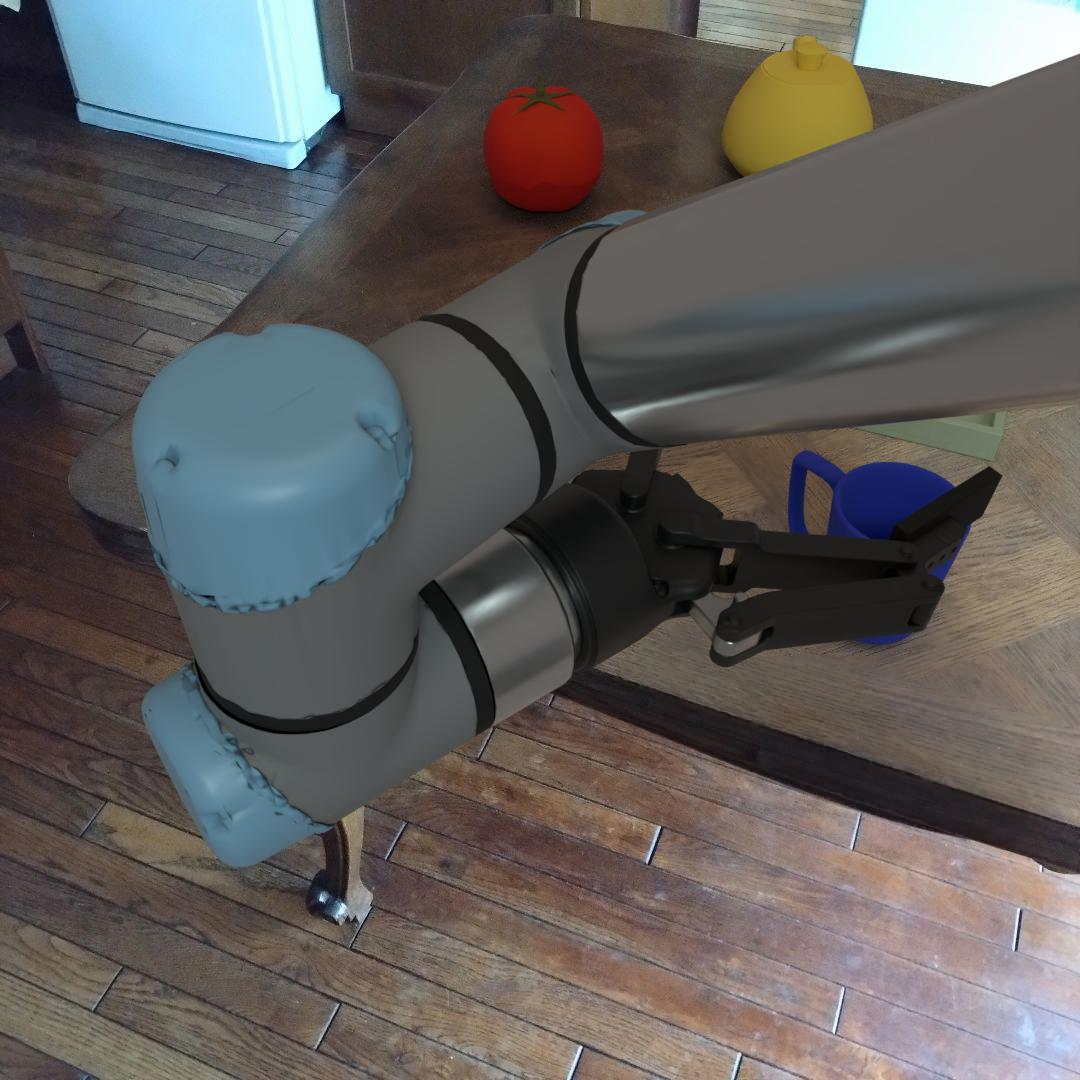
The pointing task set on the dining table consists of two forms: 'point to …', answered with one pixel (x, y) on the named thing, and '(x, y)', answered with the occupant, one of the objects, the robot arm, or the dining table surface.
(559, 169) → the tomato
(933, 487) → the mug
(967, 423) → the tray
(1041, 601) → the dining table surface
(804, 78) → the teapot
